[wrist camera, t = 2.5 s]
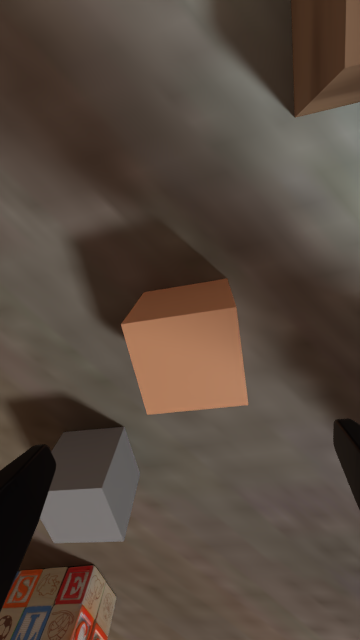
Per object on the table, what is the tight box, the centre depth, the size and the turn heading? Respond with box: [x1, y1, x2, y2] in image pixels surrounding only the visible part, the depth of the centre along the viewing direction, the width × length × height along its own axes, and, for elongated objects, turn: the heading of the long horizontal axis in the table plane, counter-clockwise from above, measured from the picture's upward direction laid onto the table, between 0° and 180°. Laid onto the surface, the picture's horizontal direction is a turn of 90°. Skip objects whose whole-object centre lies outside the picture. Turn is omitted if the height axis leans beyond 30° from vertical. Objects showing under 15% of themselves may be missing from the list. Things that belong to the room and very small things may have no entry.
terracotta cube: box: [121, 279, 248, 415], centre depth 15 cm, size 5×5×5 cm
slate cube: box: [40, 427, 140, 543], centre depth 20 cm, size 5×5×5 cm
